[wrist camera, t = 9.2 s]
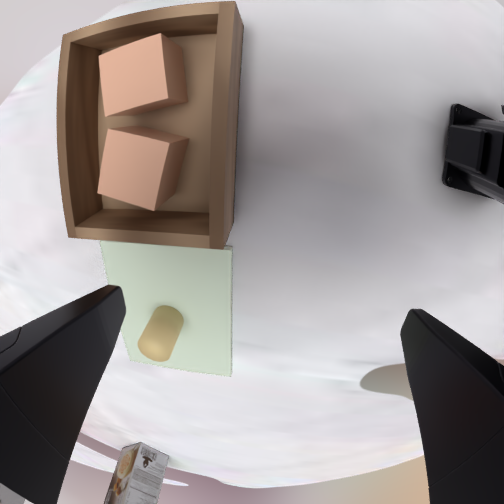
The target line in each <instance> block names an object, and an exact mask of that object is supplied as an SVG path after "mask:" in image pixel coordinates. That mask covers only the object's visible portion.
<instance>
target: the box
mask: <svg viewBox="0 0 504 504" xmlns="http://www.w3.org/2000/svg"><path fill="white" fill-rule="evenodd" d="M243 28H244V26H243V23H242V20H241V17H240V14H239V11H238V8H237V5H236V2H235V1H224V2H206V3H195V4H185V5H177V6H170V7H164V8H158V9H152V10H147V11H142V12H137V13H133V14H128V15H124V16H120V17H116V18H113V19H109V20H106V21H102V22H99V23H96V24H92V25H89V26H86V27H83V28H80V29H78V30H75V31H72V32H70V33H67V34H64V35H63V38H62V45H61V52H60V61H59V72H58V86H57V150H58V165H59V176H60V186H61V194H62V202H63V209H64V215H65V221H66V227H67V232H68V238H81V239H93V240H106V241H118V242H131V243H143V244H156V245H169V246H181V247H194V248H206V249H219V250H224V247H225V244H226V241H227V239H228V236H229V233H230V231H231V228H232V225H233V222H234V194H235V170H236V147H237V127H238V108H239V90H240V73H241V57H242V43H243ZM159 33H161V34H163V35H164V36H166V37H167V38H169V39H170V40H172V41H173V42H174V43H176V44H177V45H179V46H180V47H181V48H182V55H183V64H184V72H185V80H186V88H187V95H188V102H186V103H181V104H176V105H172V106H168V107H164V108H160V109H156V110H152V111H148V112H144V113H141V114H137V115H132V116H111V117H105V113H104V105H103V97H102V88H101V78H100V67H99V56H100V55H102V54H104V53H107V52H109V51H111V50H114V49H116V48H119V47H121V46H124V45H127V44H129V43H132V42H135V41H138V40H141V39H144V38H147V37H150V36H153V35H156V34H159ZM136 125H137V126H141V127H146V128H150V129H155V130H159V131H163V132H167V133H171V134H175V135H179V136H183V137H187V138H189V141H188V144H187V148H186V152H185V155H184V159H183V163H182V167H181V170H180V174H179V178H178V182H177V186H176V191H175V194H174V195H173V196H172V197H170V198H169V199H168V200H167V201H165V202H164V203H163V204H162V205H161V206H159V207H158V208H157V209H156V210H155V211H152V210H149V209H146V208H143V207H140V206H137V205H133V204H130V203H127V202H124V201H121V200H118V199H114V198H111V197H108V196H105V195H102V194H98V185H99V177H100V170H101V164H102V158H103V152H104V146H105V141H106V136H107V131H108V129H110V128H118V127H126V126H136Z"/></svg>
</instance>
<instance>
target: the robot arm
mask: <svg viewBox="0 0 504 504" xmlns="http://www.w3.org/2000/svg"><path fill="white" fill-rule="evenodd" d="M501 107H502V112H503V114H504V105H501ZM457 108H458V109H459V112H457ZM445 158H446V161H445V167H444V173H443V183H444V185H446V186H448V187H452V188H455V189H459V190H463V191H467V192H471V193H474V194H478V195H481V196H485V197H488V198H492V199H496V200H497V201H499V202H501V203H503V204H504V122H502V121H495V120H493V119H491V118H489V117H487V116H485V115H483V114H481V113H479V112H476V111H474V110H472V109H470V108H467V107H465V106H463V105H460V104H453V105H452V108H451V119H450V127H449V134H448V142H447V150H446V157H445ZM449 177H450V181H449V182H448V178H449ZM125 315H126V305H125V300H124V295H123V291H122V288H121V287H120V286H116V285H107V286H105V287H102V288H100V289H98V290H96V291H94V292H92V293H89V294H87V295H85V296H83V297H81V298H79V299H77V300H75V301H72V302H70V303H68V304H66V305H64V306H62V307H60V308H58V309H56V310H54V311H51V312H49V313H47V314H45V315H43V316H41V317H39V318H37V319H35V320H33V321H31V322H29V323H27V324H25V325H23V326H22V327H19V328H17V329H15V330H13V331H11V332H9V333H7V334H4V335H2V336H0V504H23V503H24V501H25V499H27V500H28V501H30V502H32V503H34V504H57V500H58V497H59V494H60V490H61V487H62V483H63V480H64V477H65V474H66V470H67V467H68V464H69V460H70V458H71V455H72V452H73V449H74V446H75V443H76V440H77V437H78V435H79V432H80V429H81V427H82V424H83V422H84V419H85V416H86V414H87V411H88V409H89V406H90V404H91V401H92V399H93V396H94V394H95V392H96V389H97V387H98V384H99V382H100V380H101V377H102V375H103V373H104V371H105V368H106V366H107V364H108V362H109V359H110V357H111V355H112V352H113V350H114V347H115V344H116V341H117V338H118V335H119V332H120V329H121V326H122V323H123V321H124V318H125ZM400 335H401V341H402V347H403V352H404V358H405V364H406V370H407V375H408V380H409V383H410V388H411V392H412V396H413V400H414V404H415V409H416V413H417V418H418V423H419V428H420V433H421V438H422V444H423V450H424V456H425V462H426V470H427V477H428V486H429V497H430V504H504V366H503V365H502V364H500V363H498V362H497V361H496V360H495V359H493V358H492V357H491V356H489V355H488V354H487V353H485V352H484V351H482V350H481V349H480V348H478V347H477V346H475V345H474V344H473V343H471V342H470V341H468V340H467V339H465V338H464V337H463V336H461V335H460V334H458V333H457V332H455V331H454V330H452V329H451V328H449V327H448V326H447V325H445V324H444V323H442V322H441V321H439V320H438V319H436V318H435V317H433V316H432V315H430V314H429V313H427V312H426V311H424V310H423V309H411V310H410V311H409V312H408V314H407V316H406V319H405V321H404V324H403V326H402V328H401V333H400Z"/></svg>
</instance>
